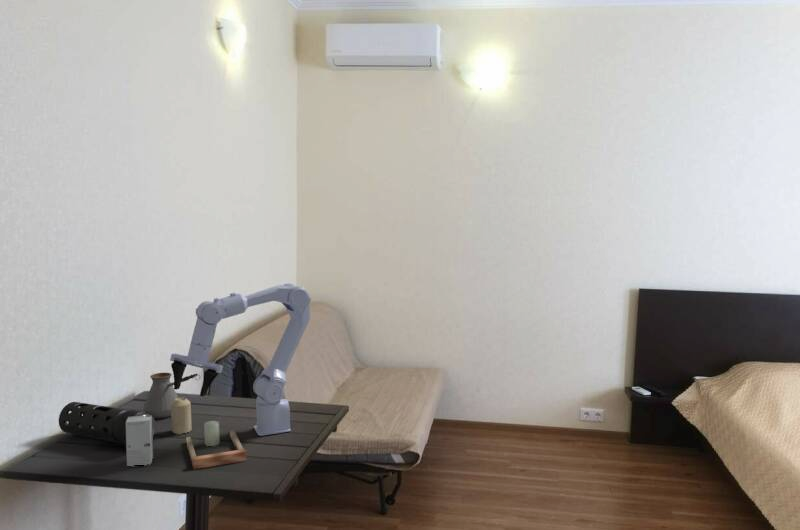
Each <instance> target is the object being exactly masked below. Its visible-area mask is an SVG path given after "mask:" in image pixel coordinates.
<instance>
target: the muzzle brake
mask: <svg viewBox="0 0 800 530" xmlns="http://www.w3.org/2000/svg"><path fill="white" fill-rule="evenodd" d="M133 416H150V415H149V414H148V413H146V412H145V411H144V410H138V409H130V410H129V409H125V408H118V407H111V406H106V405H105V406H104V405H98V404H92V403H86V402H80V401H79V402H78V401H72V402H68V403H67V404H65V405H64V407H63V408H62V409H61V411H60V413H59V415H58V426H59V428H60V430H61V431H62V432H64V433H67V434H71V436H73V437H78V438H83V439H89V440H95V441H96V440H99V441H101V442H103V441H110V442H116V443H117V445H119V446H123V445H124V447H126V421H127V419H128V417H133ZM156 427H157V424H156V421H155V418H153V417H152V438H153V437H154V435H155V433H156Z"/></svg>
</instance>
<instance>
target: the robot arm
mask: <svg viewBox="0 0 800 530" xmlns="http://www.w3.org/2000/svg"><path fill="white" fill-rule="evenodd" d="M311 301H312V298H311V296H310V293H309V292H308V290H307V288H305V287H303V286H298V285H294V284H293V283H285V284H278V285H275V286H272V287H269V288H265V289H262V290H259V291H256V292H254V293H250V294H248V295H245V296H244V295H242V294H241V293H236V292H231V293H229V295H228V296H225V297H221V298H218V297H216V298H215V297H214V298H213V301H210V300H206V301H203V302H201V303H200V304H199V305H198V306H197V308H195V315H196V317H197V318H196V322H195V325H194V327H193V328H194V329H193V333H192V336H191V340H190V345H189V348H188V351H187V355H184V354H181V353H180V354H179V353H175V352H174V353H171V355H170V359H169V360H170V361H171V362H172V363H171V370H172V373H173V375H172V376H173V382H174V385H173V388H174V390H179V389H180V388H181V385H182V382H181V381H182V378H183V376H184V373H185V370H186V368H187V366H192V367H195V368H200V369H204V371H203V380H202V385H201V389H200V391H199V397H204V396H206V393H207V392H208V390H209V388H210V386H211V385H212V383H213V382H214V381H215V379H216V378H217V376H218V375H219V374H221V373H222V372H223V368H224V365H222V364H219V363H215V362H212V361H210V360H209V359H210V355H211V352H212V351H211V350H212V346H213V344H214V343H213V342H214V339H215V335H216V332H217V331H216V330H217V326H218V323H220V322H221V321H222V320H225V319H228V318H231V317H234V316H237V315H241V314H243V313H245V312H247V311H246V310H248V308H250V307H253V306H257V305H262V304H265V303H266V304H267V303H270V302H278V303H281V304H282V305H283V306H284V308H286V311H287V312H288V315H289V317H290V318H289V321H288V322H287V323H288V324H287V325H286V327H285V329H284V332H283V334H282V336H281V339H280V340H279V343H278V344H277V348H276V349H275V351H274V354H273V356H272V358H271V360H270V362H269V365H268V366H267V367H266V368H264V369H263V370H262V371H261V374H260V375H259V376H258V377H257V378H256V379H255V380H254V382H253V385H252V389H253V393H254V394H255V395H257V396H256V401H255V403H256V404H255V405H256V425H253V428H254V430H255V433H256V434H257V435H258V437H259V436H260V437H261V436H262V437H263V436H269V435H274V434H282V433H288V432H291V417H290V416H291V411H290V404H289V403H290V402H289V401H288V399H287V398H283V397H284V394H285V391H284V390H285V386H286V383H287V380H286V379H287V377H286V373H287V370H288V368H289V366H290V364H291V361H292V359H293V357H294V355H295V353H296V350H297V348H298V346H299V344H300V342H301V339H302V337H303V336H304V334H305V332H306V328H307V326H308V324H309V322H310V319H311V307H310V306H311V305H310V303H311Z"/></svg>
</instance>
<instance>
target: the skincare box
mask: <svg viewBox="0 0 800 530" xmlns="http://www.w3.org/2000/svg"><path fill="white" fill-rule="evenodd" d="M153 444H154V443H153V437H152V416H151V415H150V416H133V417H128V419H127V421H126V446H125V448H126V449H125V450H126V467H127V466H131V467H135V466H134V465H144V466H151V464H152V462H153V460H152V459H154V448H153V446H154V445H153ZM147 464H149V465H147Z"/></svg>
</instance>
